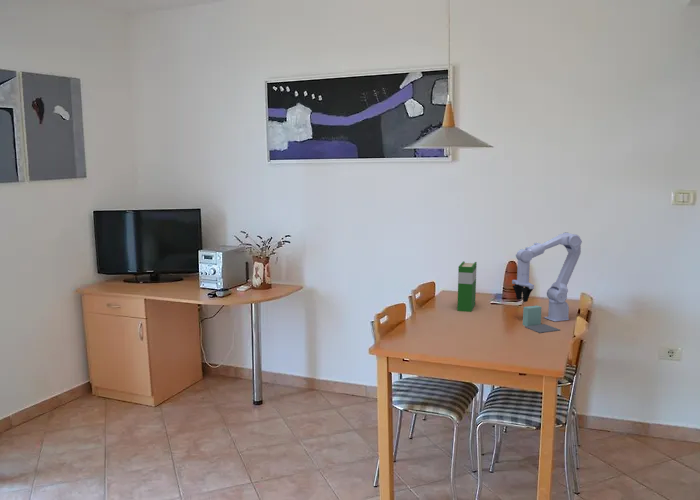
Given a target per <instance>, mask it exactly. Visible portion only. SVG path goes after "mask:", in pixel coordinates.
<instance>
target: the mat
mask: <svg viewBox="0 0 700 500" xmlns="http://www.w3.org/2000/svg"><path fill="white" fill-rule="evenodd" d="M524 328H526V329H527V330H531V331H532V332H533V331H534V332H535V333H538V334H543V333H551V332H558V331H559V332H560V331H561V329H560V328H557V327H554V326H551V325H548V324H546V323H541V324H540V325H532V326H524Z"/></svg>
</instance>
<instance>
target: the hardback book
mask: <svg viewBox="0 0 700 500" xmlns="http://www.w3.org/2000/svg"><path fill="white" fill-rule="evenodd" d="M457 279H458V280H457V306H456V309H457V312H464V313H465V312H467V313H472V312H473V310H474V309H475V306H476V296H477V295H476V293H477V292H476V290H477V261H474V263H473V262H472V263H471V262H465V261H462V262H461V263H460V264H459V266H458V274H457Z"/></svg>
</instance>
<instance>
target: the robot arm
mask: <svg viewBox="0 0 700 500" xmlns="http://www.w3.org/2000/svg"><path fill="white" fill-rule="evenodd" d="M582 243H583V241H582V239H581V237H580V236H579V235H578V234H575V233H569V232H563V233H560V234H558V235H556V236H555V237H552V238H551V239H549V240H547V241H544V242H543V243H541V242H534V243H533V245H531V246H530V245H529V246H527V247H525V249H523V248H522V249H520V248H519V250H518V251H517V252H516V254H515V257H516V259H517V273H516V279H512V280H511V284H512V288H513V290H514V294H515V297H516V300H517V301H518V300H519V301H520V300H522V301H523V303H526V302H528V301H529V298H530V295H531V293H532V291H533V289H535V284H532V283H531V282H530V267H531V266H530V265H531V261H532V260H533V259H534V258H536V257H539V256H540V255H543V254H544V253H545V251H546V250H549V249H551V248H553V247H556V246H559V245H562V246H563V247H564V248H565V250H566V251H567V255H566V257H565V260H564V263H563V264H562V267H561V269H560V272H559V274H558V275H557V279H556V281H555V282H553V283H552V284H551V286H550V287H549V288H548V289H547V290H546V297H547V298H548V313H547V314H548V316H544V317H543V318H544V319H546V320H549V321H552V322H561V321H563V322H564V321H568V320H569V321H570V318H569V309H570V306H569V304H568V302H567V298H568V292H569V289H568V283H569V282H570V279H571V277H572V275H573V272H574V270H575V267H576V265H577V263H578V260H579V258H580V256H581V253H582V251H581V249H582V248H581V247H582Z"/></svg>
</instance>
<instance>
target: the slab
mask: <svg viewBox="0 0 700 500" xmlns="http://www.w3.org/2000/svg"><path fill="white" fill-rule="evenodd" d="M522 308H523V311H522V326H524V327H525V326H532V325H540V324H542V310H543V309H542V306H540V305H537V304H536V305H530V306H529V305H528V306H523V307H522Z"/></svg>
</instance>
